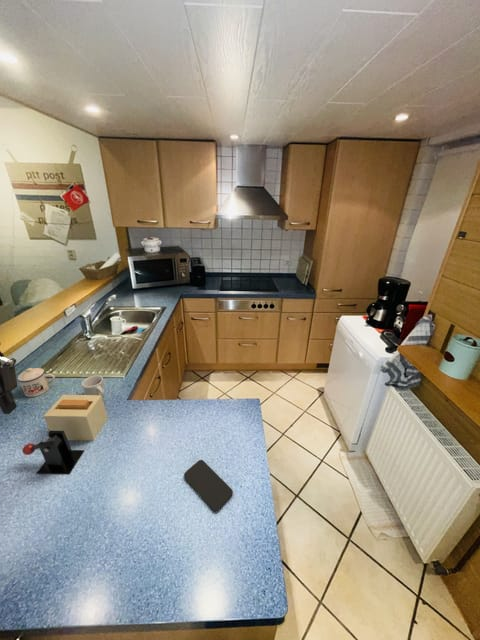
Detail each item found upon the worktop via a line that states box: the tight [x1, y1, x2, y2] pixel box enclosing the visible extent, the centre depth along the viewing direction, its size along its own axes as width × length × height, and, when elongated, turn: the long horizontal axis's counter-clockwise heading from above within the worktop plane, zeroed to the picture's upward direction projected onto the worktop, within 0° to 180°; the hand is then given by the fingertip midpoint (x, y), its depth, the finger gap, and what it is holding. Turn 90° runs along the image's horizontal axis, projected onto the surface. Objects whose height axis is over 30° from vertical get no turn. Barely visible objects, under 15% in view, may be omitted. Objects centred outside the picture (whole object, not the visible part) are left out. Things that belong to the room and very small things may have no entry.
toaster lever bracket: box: [35, 430, 85, 475], centre depth 77 cm, size 10×8×12 cm
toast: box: [58, 400, 90, 410], centre depth 88 cm, size 9×2×11 cm, turn 90°
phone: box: [183, 459, 234, 513], centre depth 74 cm, size 7×1×15 cm
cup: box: [81, 374, 106, 398], centre depth 105 cm, size 11×8×8 cm
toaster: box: [43, 394, 109, 441], centre depth 89 cm, size 14×10×12 cm
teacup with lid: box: [17, 367, 56, 398], centre depth 108 cm, size 12×9×12 cm
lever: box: [21, 435, 61, 456], centre depth 76 cm, size 12×3×3 cm, turn 89°
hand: (10, 410), depth 70 cm, fingers closed
